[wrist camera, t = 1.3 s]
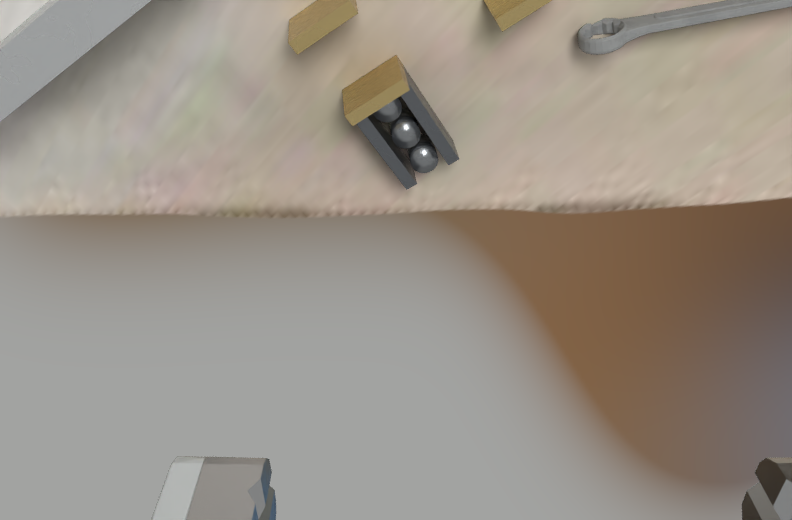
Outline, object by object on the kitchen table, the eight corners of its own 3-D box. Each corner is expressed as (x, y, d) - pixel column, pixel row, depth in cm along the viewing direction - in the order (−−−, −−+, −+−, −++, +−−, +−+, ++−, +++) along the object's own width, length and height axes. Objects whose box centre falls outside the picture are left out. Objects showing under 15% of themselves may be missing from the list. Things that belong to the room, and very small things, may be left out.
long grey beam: (-38, 72, 39) (-76, 112, 35) (178, -113, 34) (162, -91, 30) (1, 106, 40) (-31, 147, 36) (214, -67, 36) (203, -41, 32)
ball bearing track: (228, -62, 36) (222, -43, 33) (456, -237, 32) (470, -232, 29) (402, 170, 46) (408, 199, 43) (590, 58, 42) (609, 82, 39)
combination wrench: (587, 63, 39) (935, 0, 38) (588, 42, 38) (944, -23, 37) (569, 38, 42) (893, -21, 41) (570, 18, 41) (900, -43, 40)
